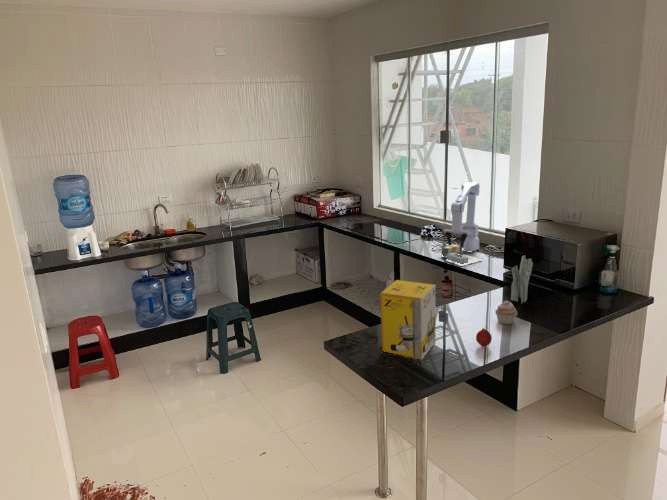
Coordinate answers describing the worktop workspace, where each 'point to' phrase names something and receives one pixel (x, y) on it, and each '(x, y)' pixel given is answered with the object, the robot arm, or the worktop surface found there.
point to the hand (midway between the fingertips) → (455, 245)
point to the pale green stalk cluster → (521, 280)
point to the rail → (452, 249)
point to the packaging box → (408, 318)
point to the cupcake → (506, 313)
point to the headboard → (460, 258)
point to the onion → (483, 337)
